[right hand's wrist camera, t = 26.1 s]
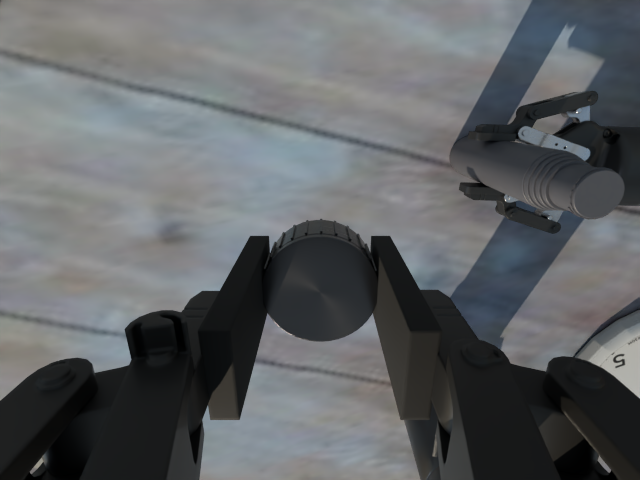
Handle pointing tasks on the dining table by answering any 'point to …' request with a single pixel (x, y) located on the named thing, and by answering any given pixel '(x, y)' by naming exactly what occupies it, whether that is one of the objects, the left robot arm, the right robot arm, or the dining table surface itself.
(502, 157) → the bottle
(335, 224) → the cap
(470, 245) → the dining table surface
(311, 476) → the dining table surface
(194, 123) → the dining table surface
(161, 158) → the dining table surface
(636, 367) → the wall clock
